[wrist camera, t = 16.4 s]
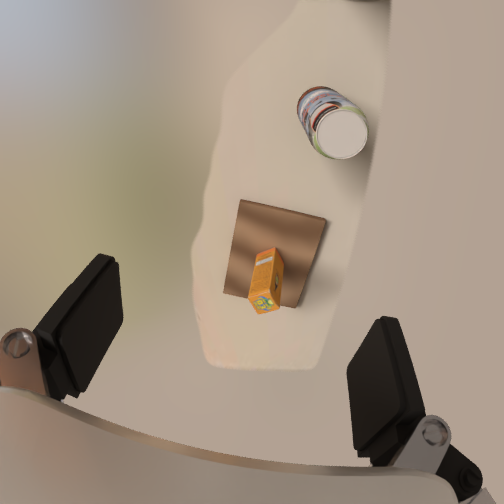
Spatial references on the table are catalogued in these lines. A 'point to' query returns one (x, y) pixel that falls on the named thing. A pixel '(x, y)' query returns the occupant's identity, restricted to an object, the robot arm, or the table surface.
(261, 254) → the supplement box
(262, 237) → the walnut board
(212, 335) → the table surface
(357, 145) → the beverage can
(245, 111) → the table surface
